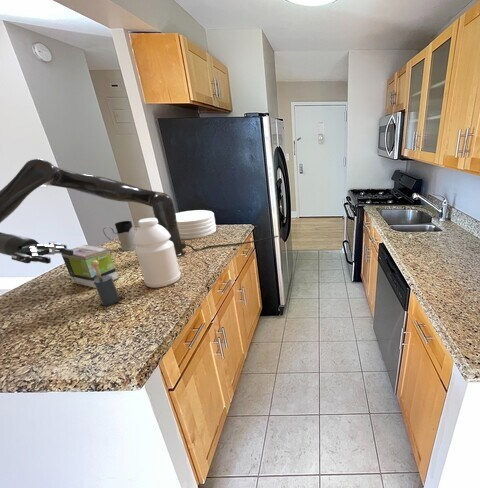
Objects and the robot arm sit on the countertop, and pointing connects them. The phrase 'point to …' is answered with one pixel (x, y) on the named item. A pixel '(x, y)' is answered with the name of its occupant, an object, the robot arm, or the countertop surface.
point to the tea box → (89, 264)
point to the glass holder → (125, 235)
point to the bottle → (156, 254)
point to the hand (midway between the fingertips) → (61, 256)
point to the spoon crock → (105, 287)
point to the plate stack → (195, 223)
